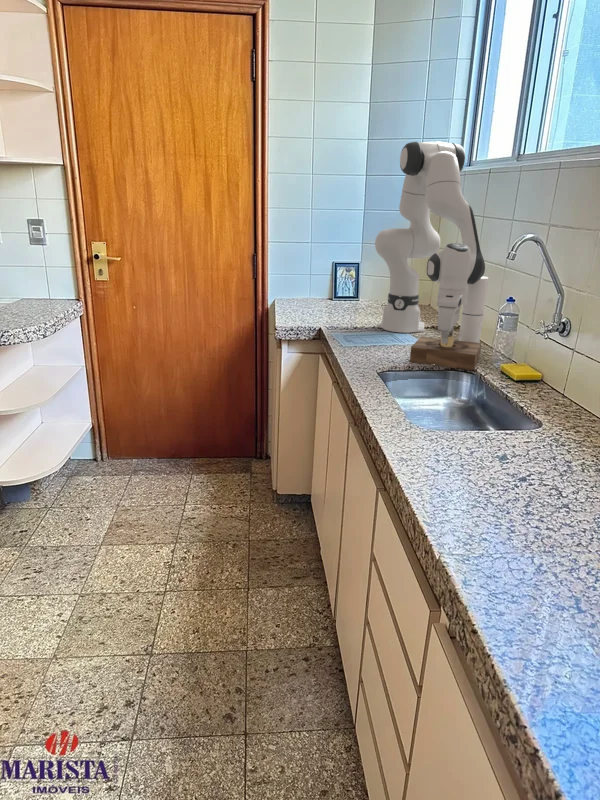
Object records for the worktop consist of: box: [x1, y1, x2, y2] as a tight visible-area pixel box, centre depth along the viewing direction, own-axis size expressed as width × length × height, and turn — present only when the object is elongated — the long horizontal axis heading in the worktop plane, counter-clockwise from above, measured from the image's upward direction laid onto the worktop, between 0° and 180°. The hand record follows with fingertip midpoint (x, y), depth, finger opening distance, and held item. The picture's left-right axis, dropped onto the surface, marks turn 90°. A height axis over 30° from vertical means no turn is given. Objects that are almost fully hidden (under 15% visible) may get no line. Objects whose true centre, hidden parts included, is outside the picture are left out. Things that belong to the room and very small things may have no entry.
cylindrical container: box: [458, 275, 489, 343], centre depth 192 cm, size 7×7×25 cm
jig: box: [409, 336, 482, 371], centre depth 181 cm, size 16×20×5 cm
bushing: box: [440, 334, 455, 347], centre depth 180 cm, size 4×4×8 cm
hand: (447, 339), depth 180 cm, fingers open, 8 cm apart
